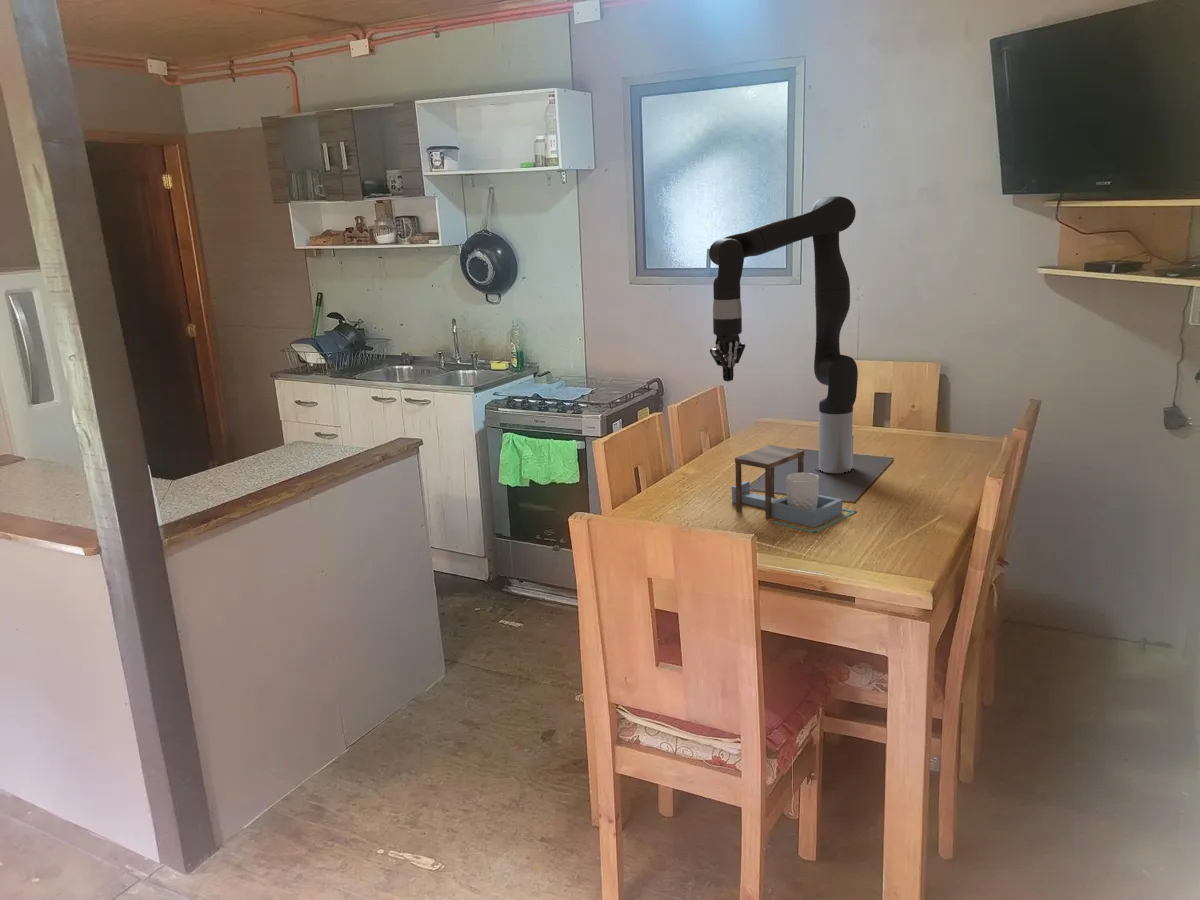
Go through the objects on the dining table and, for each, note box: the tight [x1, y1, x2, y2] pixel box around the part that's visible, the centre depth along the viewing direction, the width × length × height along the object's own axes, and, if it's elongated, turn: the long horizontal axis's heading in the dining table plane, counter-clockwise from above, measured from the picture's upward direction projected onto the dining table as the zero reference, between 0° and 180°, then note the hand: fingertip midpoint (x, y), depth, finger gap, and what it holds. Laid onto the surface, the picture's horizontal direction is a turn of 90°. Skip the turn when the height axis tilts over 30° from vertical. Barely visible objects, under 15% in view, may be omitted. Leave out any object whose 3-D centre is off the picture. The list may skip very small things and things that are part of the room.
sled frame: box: [731, 480, 843, 528], centre depth 216 cm, size 12×26×4 cm, turn 44°
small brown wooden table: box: [734, 444, 805, 520], centre depth 217 cm, size 15×10×14 cm, turn 134°
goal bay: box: [773, 507, 858, 534], centre depth 210 cm, size 18×11×1 cm, turn 134°
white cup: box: [785, 471, 820, 511], centre depth 211 cm, size 8×8×10 cm
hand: (728, 380), depth 234 cm, fingers closed
